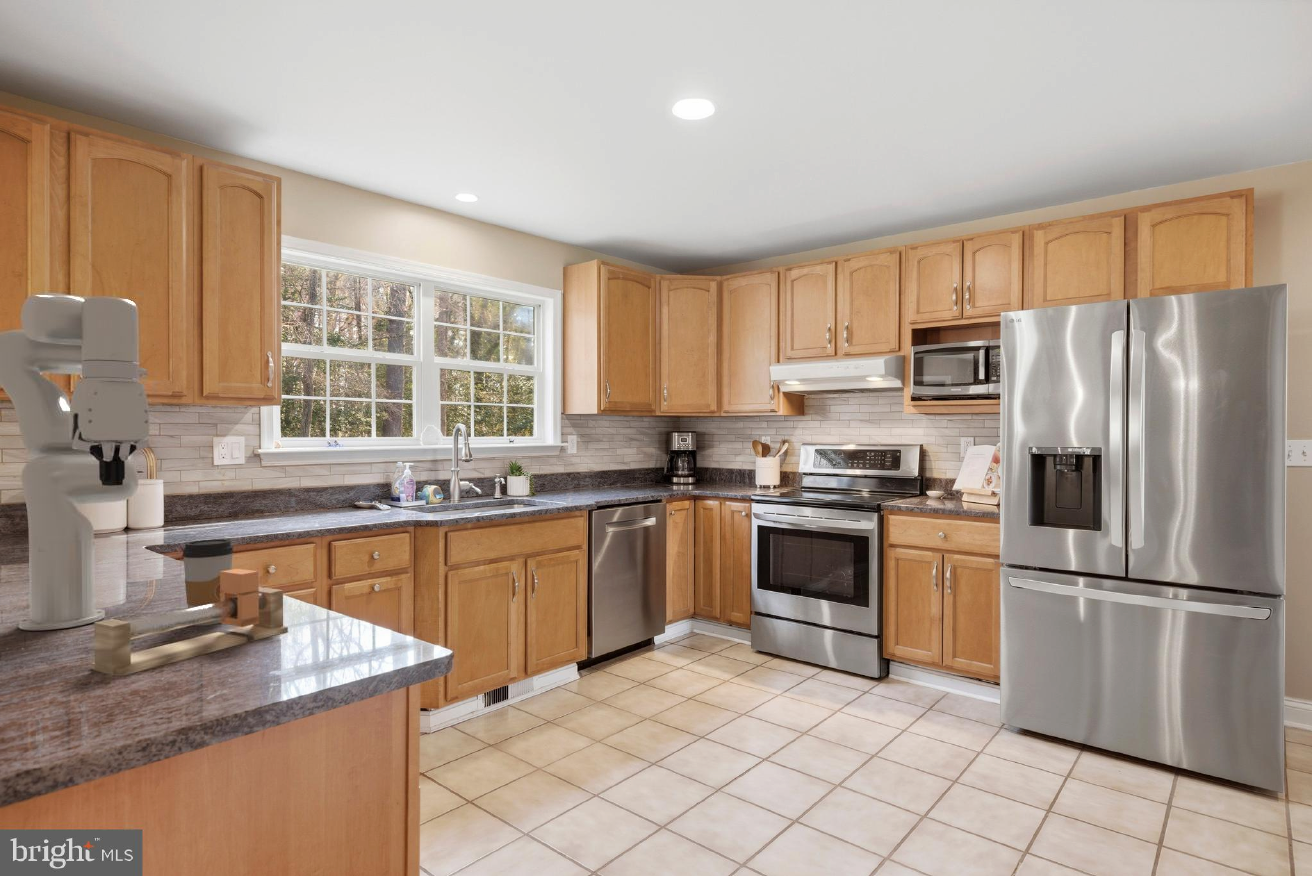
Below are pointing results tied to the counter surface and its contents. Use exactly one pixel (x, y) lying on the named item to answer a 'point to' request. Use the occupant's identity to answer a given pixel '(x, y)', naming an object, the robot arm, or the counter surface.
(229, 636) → the beige long frame
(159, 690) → the counter surface
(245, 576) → the collar
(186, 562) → the coffee cup
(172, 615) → the pipe
